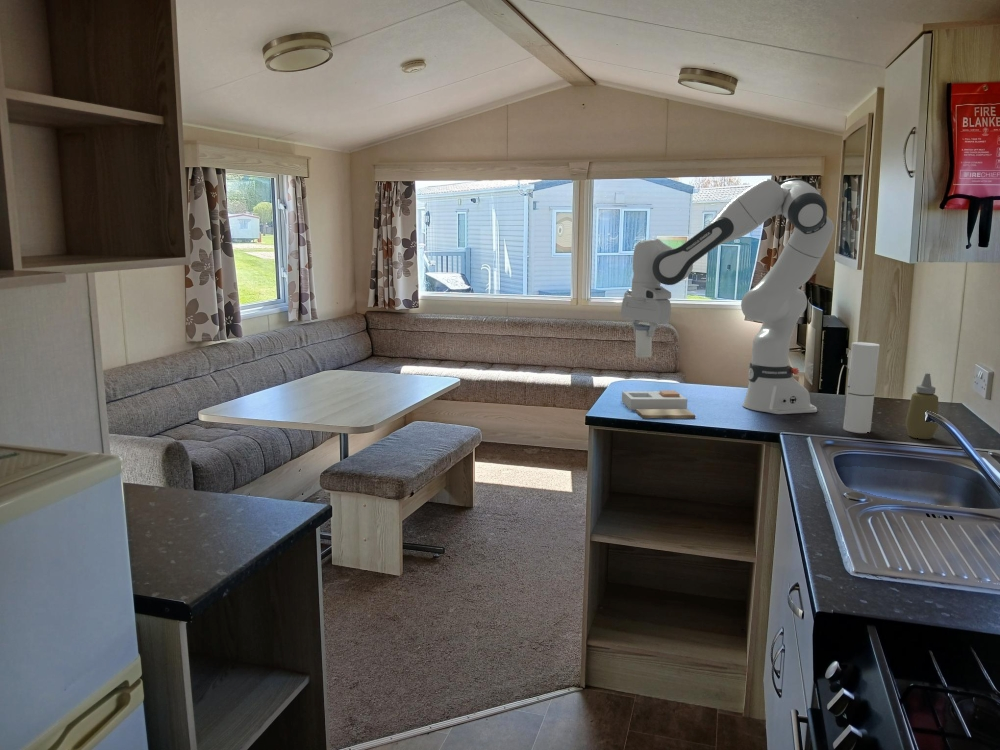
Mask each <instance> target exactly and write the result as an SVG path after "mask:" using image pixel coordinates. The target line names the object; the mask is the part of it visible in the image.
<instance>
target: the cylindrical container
mask: <svg viewBox="0 0 1000 750" xmlns="http://www.w3.org/2000/svg"><path fill="white" fill-rule="evenodd" d="M880 346H881V345H880V344H879V343H874V342H865V341H854V342H851V349H850V359H849V369H848V377H847V378H848V379H847V388H846V399H845V406H844V407H845V409H844V418H843V426H842V427H843V428H842V429H843V430H844V431H845V432H846V431H847V432H851V433H854V434H855V433H857V434H868V433H867V432H869V433H871V428H872V419H873V409H874V402H875V394H876V393H875V392H876V391H875V390H876V382H877V374H878V373H877V372H878V364H879V356H880V348H881V347H880Z"/></svg>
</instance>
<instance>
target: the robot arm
mask: <svg viewBox="0 0 1000 750" xmlns="http://www.w3.org/2000/svg"><path fill="white" fill-rule="evenodd" d="M827 214H828V206H827V202H826V201H825V198H824V197H823V196H822V195H821V194H820V193H819V191H818V190H817V189H816V187H814V186H812V185H811V183H809V182H808V181H806V180H805V179H803V178H799V177H791V178H787V179H784V180H781V181H778V182H777V181H775V180H773V179H770V178H766V179H765V178H764V179H762V180H760V181H757V182H756V183H754V184H752V185H750V186H749V187H747V188H746V189H744V190H743V191H742V192H740V193H739V194H737V195H736V196H735V197H733V198H732V199H731V200H729V202H727V204H725V205H724V206H723V208H721V210H720V211H718V213H717V214H716V215H715V216H714V217H713V219H712V220H711V221H710V222H709V223H708V224H707V225H706V226H705V227H704V228H702V230H700V231H699V232H698V233H696V234H695V235H694V236H692V237H690V238H689V239H688V240H687V241H685V242H684V243H682V244H681V245H680V246H678V247H676V248H674V247H671V246H670V245H668V244H666V243H664V242H663V241H662V240H661V239H659V238H652V239H649V238H648V239H644V240H640V241H638V243H637V242H636V243H637V244H635V246H634V250H633V254H632V255H633V257H632V272H633V276H632V279H631V289H627V290H626V291H625V292H624V294H623V295H624V296H623V298H622V302H621V309H620V315H621V318H622V319H627V320H631V325H632V328H633V334H634V335H636V325H637V324H639V323H640V322H645V323H648V324H649V326H650V328H649V331H647V336H648V337H652V338H653V337H655V331H656V329H657V327H658V325H667V324H669V323H670V321H671V315H672V314H671V313H672V312H671V310H672V306H671V305H672V304H671V301H670V299H672V293H671V291H669V290H667V289H666V288H665V287H663V286H662V285H661V284H663V285H665V286H675V285H677V284H678V283H680V282H681V281H684V280H686V279H687V278H688V277H689V276H690V274H691V273H692V271H693V266H694V263H696V262H697V261H698V260H700V259H701V258H702V257H704V256H705V255H707V254H708V253H709V252H710V251H712V250H714V249H715V248H716V247H719V246H720V245H722V244H725V243H728V242H731V241H735V240H738V239H741V238H742V237H744V236H746V235H748V234H749V233H751V232H752V231H755V230H756V229H757V228H759V226H761V225H762V224H763V223H765V222H766V221H767V220H768V219H771V218H773V217H776V216H779V215H783V217H784V218H785V219H787V220H788V221H789V223H790V224H791V225H792V226H793V227H794V228H793V231H792V233H791V235H790V236H789V238H788V240H787V242H786V244H785V245H784V248H783V249H782V251H781V253H780V254H779V256H778V259H776V262H775V263H774V264H773V266H772V267H771V268H770V269H769V271H768V272H767V273H766V275H764V277H762V279H761V280H760V281H759V282H758V283H757V284H756V285H755V286H754V287H753V288H751V289H750V290H748V291H747V292H745V294H743V297H742V299H741V304H740V307H741V308H740V309H741V311H742V314H743V316H744V317H746V318H747V320H750V321H755V322H759V323H762V325H761V327H760V329H759V331H758V333H756V335H755V336H754V338H753V341H752V349H751V350H752V351H751V361H750V363H749V369H748V386H747V392H746V395H745V398H744V401H743V403H742V406H743V407H744V408H747V409H748V410H751V411H757V412H765V413H770V414H775V415H787V414H789V415H790V414H804V413H805V414H806V413H816V412H818V409H817V406H815V405H814V404H812V403H811V398H810V397H811V396H810V392H809V390H808V389H807V388H806V387H805V386H803V384H801V383H800V382H799V381H797V380H796V379H795V378H794V377H793V375H799V373H800V369H799V368H797V367H795V366H794V367H792V366H790V364H789V356H790V347H791V346H790V345H791V342H792V341H791V340H792V336H793V334H794V331H795V328H796V326H797V323H798V322H799V321H798V320H799V319H800V317H801V316H802V315H803V313H804V312H805V311H806V309H807V306H808V298H807V295H806V293H805V292H804V291H803V290H802V289H800V288H801V287H802V286H803V285H804V284H805V283H807V282H808V281H809V280H810V279H811V278H812V276H813V274H814V272H815V271H816V269H817V267H818V266H819V264H820V262H821V260H822V259H823V256H824V255H825V253H826V251H827V249H828V246H829V244H830V242H831V240H832V236H833V234H834V230H835V225H834V222H833V220H832V219H831V218H830V217H829V216H828V215H827Z"/></svg>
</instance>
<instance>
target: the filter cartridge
mask: <svg viewBox="0 0 1000 750" xmlns="http://www.w3.org/2000/svg"><path fill="white" fill-rule="evenodd" d="M649 328H650V326H649V323H640V324H639V323H638V324H637V325H636V334H635V357H636V358H639V359H647V358H652V356H653V354H652V352H653V351H652V348H653V347H652V343H653V339H652V338H653V337H648V336H647V331H649Z"/></svg>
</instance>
